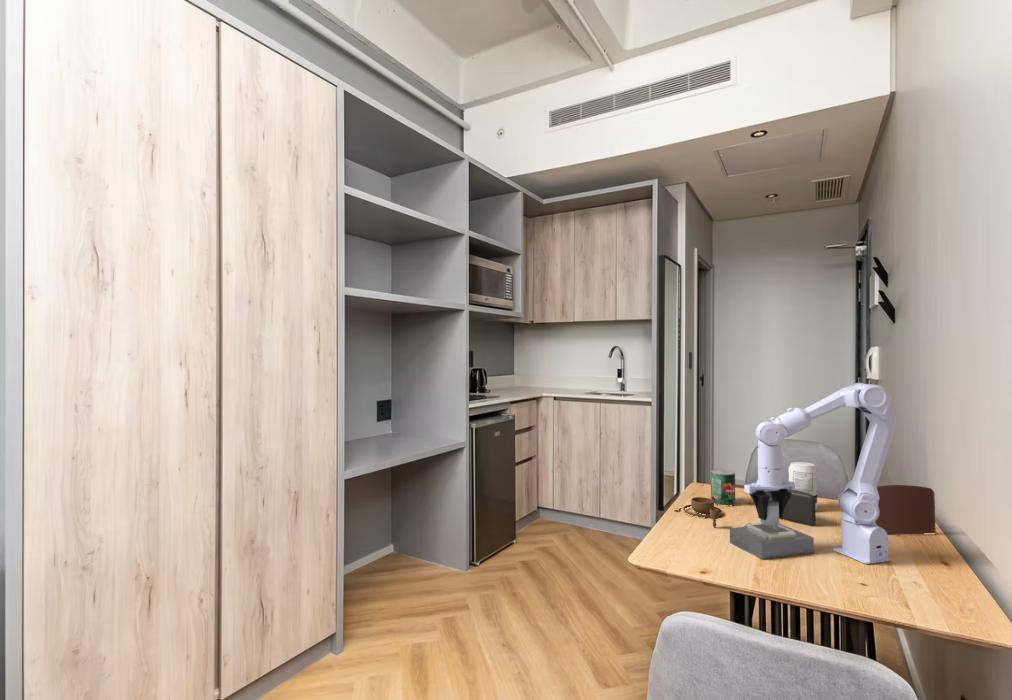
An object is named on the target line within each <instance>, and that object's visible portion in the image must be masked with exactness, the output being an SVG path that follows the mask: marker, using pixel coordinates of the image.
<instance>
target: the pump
mask: <svg viewBox="0 0 1012 700" xmlns="http://www.w3.org/2000/svg"><path fill="white" fill-rule="evenodd" d="M760 523H762V524H764V525H768V526H778V525H779V524H780V519H779V501H777V500H774V499H769V501H768V506H767V519H766V520H762V519H760Z"/></svg>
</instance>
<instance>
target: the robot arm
mask: <svg viewBox="0 0 1012 700" xmlns="http://www.w3.org/2000/svg"><path fill="white" fill-rule="evenodd" d="M893 399H894V397H893V396H892V394H890V393H889V392H888V390H886V388H885V387H883V386H881V385H879V384H873V383H872V384H869V383H864V382H856V383H853V384H851V385H849V386H845V387H843V388H840V389H839V390H837V391H835V392H833V393H832V394H830V395H828V396H825V397H824V398H822V399H820V400H819V401H816V402H814V403H813V404H811V405H809V406H808V407H805V408H800V407H794V408H793V407H789V408H787V409H786V412H785V413H782V414H780V415H778V416H776V417H775V416H773V417H770V418H769V420H770V421H762V422H760V423H759V424H758V425H757V427H756V429H755V431H754V434H755V436H756V438H757V439H758V440H757V480H756V482H751V483H748V484H744V487H743V488H744V490H743V491H744V493H747V494H748V495H749V496H750V497H751V499H752V502H753V504H754V506H755V510H756V513H757V516H758V519H760V520H761V519H762V520H766V519H767V506H768V501H769V498H770V496H768V495H765V493H764V492H766V491H770V492H771V496H772V499H774V500H777V501H779V518H780V519H779V520H782V519H781V518H782V516H783V512H784V509H785V506H786V504H787V502H788V500H789V499H790V497H791V492H788V491H787V490H795V483H794V482H791V481H789V480H788V481H787V480H786V481H783V468H782V467H783V466H782V465H783V464H782V463H783V461H782V455H783V454H782V453H783V452H782V443H783V442H784V441H785V439H786V438H789V437H791V436H793V435H795V434H797V433H799V432H802V431H803V430H806V429H807V428H810V427H811V423H812V421H813V420H815V419H817V418H820V417H822V416H825V415H827V414H829V413H832V412H834V411H836V410H839V409H840V408H857V409H859V410H860V411H861V413H863V415H864V416H865V417H866V419H867V420H868V422H869V425H868V428H867V431H866V434H865V437H864V442H863V444H862V448H861V450H860V454H859V458H858V461H857V464H856V467H855V471H854V473H853V476H852V479H851V480H850V481H849V482H847V483H846V486H845V488H844V490H843V491H841V493H840V494H839V495H838V497H837V504H838V506H839V508H840V509H841V510H842V514H841V547H835V548H833V551H834V552H836V553H839V554H842V555H843V556H846V557H849V558H851V559H853V560H855V561H858V562H861V563H863V564H864V565H869V564H877V563H885V561H886V562H891V561H892V559H891V558H890V557H889V537H888V536H889V534H887V533H886V531H885V530H884V529H883V528H881V527H879V526H878V525H877V524H876V523H875V521H876V520H877V519H878V517H879V513H880V511H879V507H878V502H879V499H880V498H879V494H878V491H877V486H879V485H878V484H879V481H880V479H881V475H882V471H883V469H884V465H885V462H886V459H887V456H888V452H889V450H890V446H891V444H892V439H893V436H894V434H895V430H896V427H897V424H898V423H897V422H898V418H897V416H896V411H895V408H894V404H893Z"/></svg>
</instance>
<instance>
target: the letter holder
mask: <svg viewBox="0 0 1012 700" xmlns="http://www.w3.org/2000/svg"><path fill="white" fill-rule="evenodd" d="M877 491H878V494H879V498H880V499H879V502H878V507H879V511H880V513H879V517H878V519H877V520H876V521H875V523H876V524H877V525H878V526H879V527H881V528H883V529H884V530H885V531H886V533H887V535H894V534H924V533H936V505H935V504H936V499H935V491H934V490H933V489H932V488H930V487H925V486H920V485H906V484H889V485H888V484H887V485H877ZM936 534H937V533H936Z"/></svg>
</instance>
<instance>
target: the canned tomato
mask: <svg viewBox="0 0 1012 700" xmlns="http://www.w3.org/2000/svg"><path fill="white" fill-rule="evenodd" d="M710 499H712V500H714V503H715V504H719V505H726V506H725V507H731V506H730V505H734V506H736V471H734V470H730V469H726V468H725V469H724V468H723V469H722V468H716V469H711V470H710ZM715 504H714V505H715ZM719 505H718V506H719ZM727 505H728V506H727Z"/></svg>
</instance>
